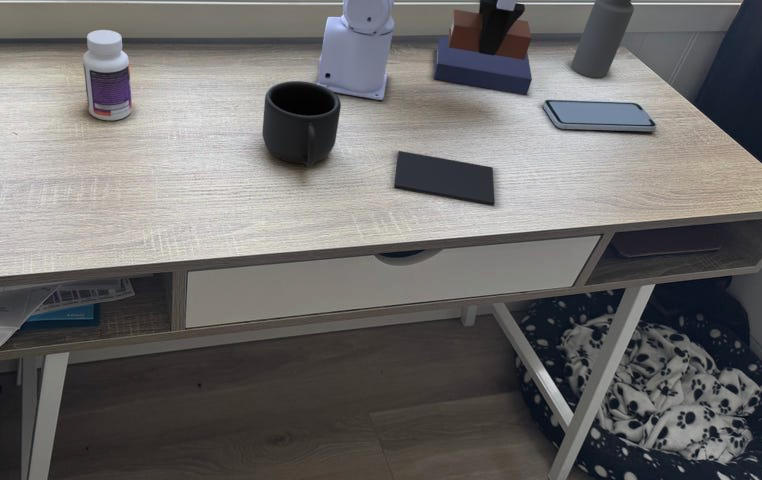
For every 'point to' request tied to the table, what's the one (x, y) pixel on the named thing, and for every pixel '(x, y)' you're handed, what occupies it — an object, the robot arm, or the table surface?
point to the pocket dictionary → (468, 35)
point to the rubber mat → (445, 178)
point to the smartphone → (599, 115)
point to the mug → (300, 121)
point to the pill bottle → (107, 76)
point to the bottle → (602, 37)
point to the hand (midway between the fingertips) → (485, 44)
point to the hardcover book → (481, 69)
